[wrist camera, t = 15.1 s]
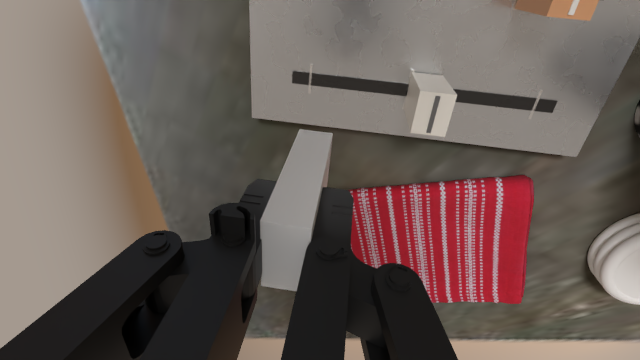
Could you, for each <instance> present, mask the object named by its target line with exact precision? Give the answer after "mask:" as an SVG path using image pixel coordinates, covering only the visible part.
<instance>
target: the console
mask: <svg viewBox="0 0 640 360" xmlns="http://www.w3.org/2000/svg"><path fill="white" fill-rule="evenodd" d="M516 3H517V0H249V11H250V55H251V99H252V118H259V119H267V120H275V121H284V122H292V123H300V124H309V125H317V126H325V127H333V128H342V129H350V130H358V131H366V132H375V133H383V134H391V135H399V136H408V137H416V138H424V139H432V140H441V141H449V142H457V143H465V144H474V145H482V146H490V147H498V148H507V149H515V150H523V151H531V152H540V153H548V154H556V155H564V156H573V157H577V155H578V153H579V151H580V149H581V147H582V146H583V144H584V142H585V140H586V138H587V136H588V134H589V132H590V130H591V128H592V127H593V125H594V123H595V121H596V119H597V117H598V115H599V113H600V111H601V110H602V108H603V106H604V104H605V102H606V100H607V98H608V96H609V94H610V93H611V91H612V89H613V87H614V85H615V83H616V81H617V79H618V77H619V76H620V74H621V72H622V70H623V68H624V66H625V64H626V62H627V60H628V59H629V57H630V55H631V53H632V51H633V49H634V47H635V45H636V43H637V42H638V40H639V38H640V0H599V2H598V4H597V6H596V9H595V11H594V13H593V15H592V17H591V20H590V21H586V20H576V19H566V18H556V17H546V16H542V15H538V14H534V13H530V12H526V11H522V10H518V9H515V6H516ZM412 72H416V73H425V74H434V75H443V76H444V78H445V79H446V80H447V82H448V83H449V84H450V86H451V87H452V88H453V90H454V91H455V92H456V94H457V98H456V101H455V105H454V108H453V111H452V115H451V118H450V122H449V125H448V128H447V132H446V135H445V137H440V136H432V135H424V134H415V133H410V130H409V126H408V123H407V119H406V115H405V112H404V106H405V101H406V96H407V92H408V87H409V83H410V78H411V73H412Z"/></svg>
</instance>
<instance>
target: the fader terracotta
mask: <svg viewBox="0 0 640 360" xmlns="http://www.w3.org/2000/svg"><path fill="white" fill-rule="evenodd" d="M598 2H599V0H517V3H516V6H515V9H518V10H522V11H526V12H530V13H534V14H538V15H542V16H546V17H556V18H566V19H576V20H586V21H590V20H591V17H592V15H593V13H594V11H595V9H596V6H597V4H598Z"/></svg>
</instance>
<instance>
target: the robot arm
mask: <svg viewBox="0 0 640 360" xmlns="http://www.w3.org/2000/svg"><path fill="white" fill-rule="evenodd" d="M332 137H333V133H327V132H319V131H311V130H303V129H299V132H298V134H297V136H296V139H295V141H294V143H293V146H292V148H291V150H290V153H289V155H288V157H287V159H286V162H285V164H284V166H283V169H282V171H281V173H280V176H279V178H278V180H277V181H269V180H262V179H257V180H255V181H254V182H253V183H251V184H250V185H248V187H247V189H246V191H245V192H244V195H243V196H242V198H241V200H240V202H239V203H227V204H223V205H220V206H218V207H216V208H214V209H213V210H212V211H211V212H210V213H209V218H210V227H211V237H210V238H209V239H206V240H201V241H193V242H182V240H181V238H180V236H179V235H177V234H176V233H174V232H171V231H165V230H164V231H155V232H152V233H148V234H146V235H144V236H142V237H141V238H139V239H138V240H136V241H135V242H134V243H133V244H131V245H130V246H129V247H128V248H126V249H125V250H124V251H123V252H121V253H120V254H119V255H118V256H116V257H115V258H114V259H112V260H111V261H110V262H109V263H108V264H106V265H105V266H104V267H102V268H101V269H100V270H99V271H97V272H96V273H95V274H94V275H92V276H91V277H90V278H89V279H87V280H86V281H85V282H84V283H82V284H81V285H80V286H79V287H77V288H76V289H75V290H74V291H72V292H71V293H70V294H69V295H67V296H66V297H65V298H64V299H62V300H61V301H60V302H59V303H57V304H56V305H55V306H53V307H52V308H51V309H50V310H48V311H47V312H46V313H45V314H43V315H42V316H41V317H40V318H38V319H37V320H36V321H35V322H33V323H32V324H31V325H30V326H29V327H27V328H26V329H25V330H24V331H22V332H21V333H20V334H19V335H17V336H16V337H15V338H13V339H12V340H11V341H9V342H8V343H7V344H6V345H4V346H3V347H2V348H1V349H0V360H237V357H238V354H239V351H240V348H241V345H242V342H243V339H244V336H245V333H246V330H247V327H248V324H249V321H250V318H251V315H252V312H253V310H254V307H255V304H256V301H257V286H258V283H259V280H260V278H261V286H265V287H272V288H278V289H285V290H291V291H297V292H296V296H295V300H294V305H293V309H292V313H291V318H290V322H289V327H288V331H287V335H286V340H285V344H284V348H283V353H282V357H281V360H344V352H345V338H346V331H348V332H350V333H352V334H354V335H356V336H358V337H360V338H361V344H362V348H363V353H364V357H365V360H458V359H457V357H456V354H455V352H454V350H453V348H452V345H451V343H450V341H449V339H448V337H447V335H446V332H445V330H444V328H443V326H442V324H441V321H440V319H439V317H438V315H437V313H436V311H435V308H434V306H433V304H432V302H431V300H430V297H429V295H428V293H427V291H426V289H425V286H424V284H423V282H422V280H421V279H420V277H419V276H418V274H417V273H416V272H415V271H413V270H412V269H411V268H409V267H407V266H405V265H402V264H398V263H387V264H383V265H381V266H380V267H378V268H374V267H372V266H369V265H367V264H365V263H363V262H362V261H360V260H359V259H358V258H357V257H356V256H355V255H354V253H353V251H352V249H351V231H352V216H353V203H354V198H353V197H352V195H351V193H350V191H349V190H343V189H335V188H328V187H327V183H328V174H329V165H330V155H331V146H332Z"/></svg>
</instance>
